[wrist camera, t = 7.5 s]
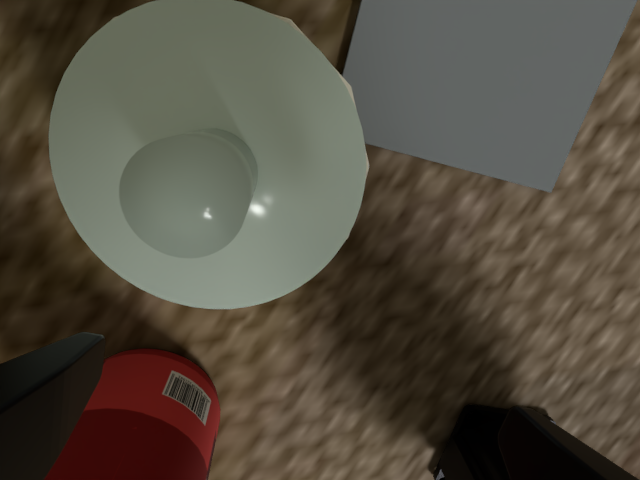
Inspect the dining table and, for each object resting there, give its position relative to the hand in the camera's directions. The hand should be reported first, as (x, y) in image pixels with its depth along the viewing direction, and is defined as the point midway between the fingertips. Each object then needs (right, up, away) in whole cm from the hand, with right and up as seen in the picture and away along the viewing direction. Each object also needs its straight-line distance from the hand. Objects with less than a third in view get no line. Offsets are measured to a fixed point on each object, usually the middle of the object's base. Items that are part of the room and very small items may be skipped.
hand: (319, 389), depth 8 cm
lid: (-3, +6, +5) cm, 8 cm away
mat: (+8, +13, +9) cm, 17 cm away
